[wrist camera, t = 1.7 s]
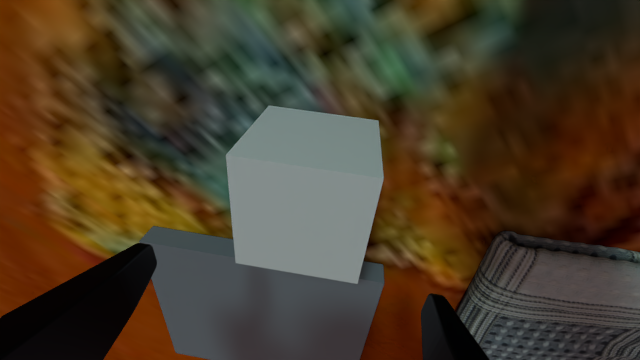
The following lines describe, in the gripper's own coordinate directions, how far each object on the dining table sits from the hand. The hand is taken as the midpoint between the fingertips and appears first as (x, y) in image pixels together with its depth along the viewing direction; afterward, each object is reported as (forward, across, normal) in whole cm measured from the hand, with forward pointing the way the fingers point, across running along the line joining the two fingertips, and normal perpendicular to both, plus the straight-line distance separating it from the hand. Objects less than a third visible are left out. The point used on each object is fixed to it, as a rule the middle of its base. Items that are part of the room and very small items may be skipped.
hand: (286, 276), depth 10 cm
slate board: (+8, +3, +14) cm, 16 cm away
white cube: (+8, 0, 0) cm, 8 cm away
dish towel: (+9, -20, +11) cm, 24 cm away
